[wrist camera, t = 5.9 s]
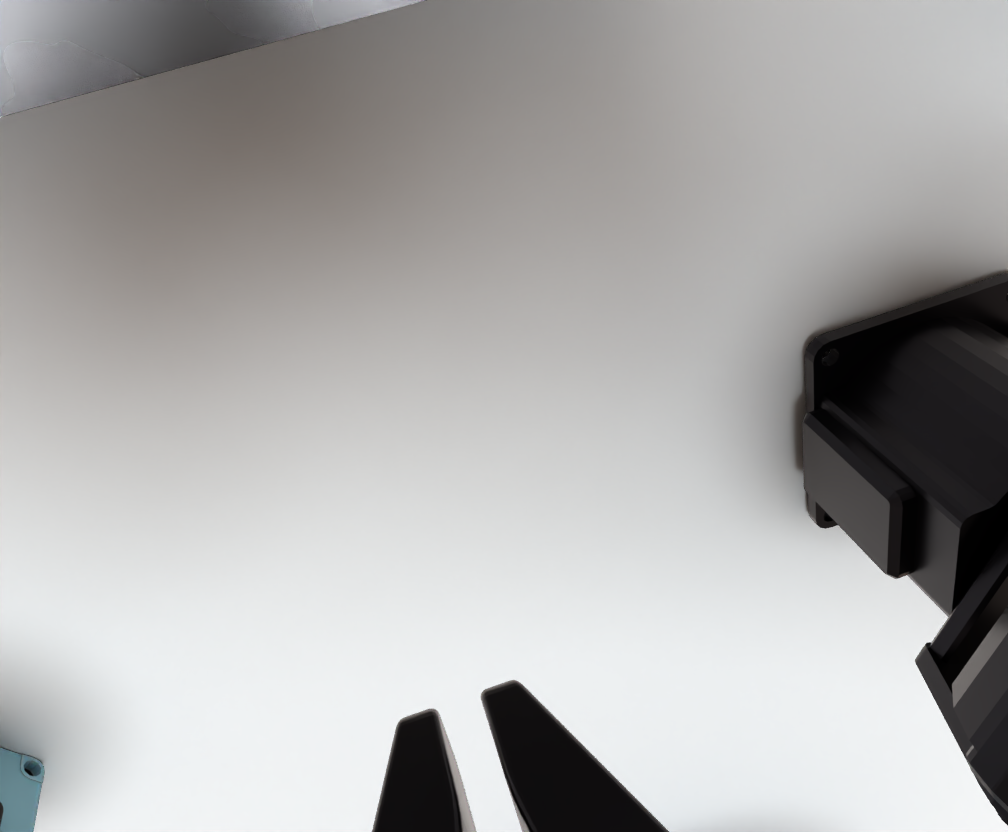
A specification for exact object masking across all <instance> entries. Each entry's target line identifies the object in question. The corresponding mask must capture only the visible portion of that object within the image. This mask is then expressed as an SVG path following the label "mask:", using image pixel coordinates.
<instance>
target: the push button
mask: <svg viewBox="0 0 1008 832" xmlns="http://www.w3.org/2000/svg"><path fill="white" fill-rule="evenodd" d="M43 778H44V766H43V765H42V763H41V762H40V761H39V760H37V759H35V758H33V757H30V756H27V755H24V754H22V755H21V754H18V753H15V752H12V751H9V750H6V749H3V748H0V832H33V831H34V825H35V820H36V814H37V808H38V803H39V797H40V792H41V786H42V783H43Z"/></svg>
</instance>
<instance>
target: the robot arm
mask: <svg viewBox="0 0 1008 832" xmlns="http://www.w3.org/2000/svg"><path fill="white" fill-rule="evenodd" d="M1007 294H1008V272H1007V273H1003V274H1000V275H997V276H994V277H991V278H988V279H985V280H982V281H980V282H977V283H974V284H971V285H968V286H965V287H962V288H959V289H956V290H953V291H950V292H947V293H944V294H941V295H938V296H935V297H932V298H929V299H926V300H923V301H920V302H917V303H914V304H911V305H908V306H905V307H902V308H899V309H896V310H893V311H891V312H888V313H885V314H882V315H879V316H876V317H873V318H870V319H867V320H864V321H861V322H858V323H855V324H852V325H849V326H846V327H843V328H840V329H837V330H834V331H831V332H828V333H825V334H822V335H820V336H818V337H816V338H815V339H814V340H813V341H812V342H811V343H810V344H809V346H808V348H807V349H806V354H805V376H806V415H805V417H804V420H803V423H802V428H803V467H804V488H805V490H806V492H807V493H808V512H809V516H810V517H811V519H812V520H813V521H814V522H815V523H816V524H817V525H818V526H819V527H820V528H830V527H833V526H836V525H839V526H840V527H841V528H842V529H843V530H844V531H845V532H846V533H847V534H848V536H849V537H850V538H851V539H852V540H853V541H854V542H855V543H856V544H857V545H858V546H859V547H860V548H861V549H862V550H863V551H864V552H865V553H866V554H867V555H868V556H869V558H870V559H871V560H872V561H873V562H874V563H875V564H876V565H877V566H878V567H879V568H880V569H881V570H882V571H883V572H884V573H885V574H887V575H889V576H891V577H893V578H895V579H897V578H900V577H903V576H906V575H908V576H909V577H910V578H911V579H912V580H913V581H914V582H915V583H916V584H917V585H918V587H919V588H920V589H921V590H922V591H923V592H924V593H925V594H926V595H927V596H928V597H929V598H930V599H931V600H932V601H933V602H934V603H935V604H936V605H937V606H938V607H939V608H940V609H941V610H942V611H943V612H944V613H945V614H946V615H947V616H948V617H949V618H948V619H947V621H946V622H945V624H944V625H943V626H942V628H941V629H940V631H939V632H938V634H937V635H936V637H935V638H934V640H933V641H932V643H930V642H929V643H926V644H925V646H924V647H923V649H922V650H921V652H920V653H919V655H918V656H917V658H916V659H915V662H916V665H917V667H918V668H919V670H920V672H921V674H922V676H923V678H924V680H925V682H926V684H927V686H928V688H929V689H930V691H931V693H932V695H933V697H934V699H935V701H936V703H937V705H938V707H939V709H940V710H941V712H942V714H943V716H944V718H945V720H946V722H947V724H948V726H949V728H950V730H951V731H952V733H953V735H954V737H955V739H956V741H957V743H958V745H959V747H960V749H961V751H962V752H963V754H964V756H965V758H966V760H967V762H968V764H969V766H970V769H971V771H972V772H973V774H974V775H975V777H976V779H977V781H978V783H979V785H980V787H981V788H982V790H983V792H984V793H985V795H986V796H987V798H988V799H989V801H990V803H991V804H992V805H993V806H994V808H995V809H996V811H997V813H998V815H999V816H1000V818H1001V819H1002V820H1003V821H1004V822H1005V823H1006V824H1007V825H1008V295H1007ZM828 350H830V353H829V354H828V355H827V356H826V357H825V358H823V359H822V357H823V355H824V354H825V352H826V351H828ZM481 700H482V704H483V707H484V710H485V713H486V717H487V720H488V723H489V726H490V730H491V733H492V736H493V739H494V742H495V746H496V749H497V752H498V755H499V759H500V762H501V765H502V768H503V772H504V775H505V778H506V781H507V784H508V788H509V791H510V794H511V797H512V800H513V803H514V806H515V810H516V813H517V816H518V819H519V822H520V825H521V829H522V832H669V831H668V830H667V829H666V828H665V827H664V826H663V825H662V824H661V823H660V822H659V821H658V820H657V819H656V818H655V817H654V816H653V815H652V814H651V813H650V812H649V811H648V810H647V809H646V808H645V807H644V806H643V805H642V804H641V803H640V802H639V801H638V800H637V799H636V798H635V797H634V796H633V795H632V794H631V793H630V792H629V791H628V790H627V789H626V788H625V787H624V786H623V785H622V784H621V783H620V782H619V781H618V780H617V779H616V778H615V777H614V776H613V775H612V774H611V773H610V772H609V771H608V770H607V769H606V768H605V767H604V766H603V765H602V764H601V763H600V762H599V761H598V760H597V759H596V758H595V757H594V756H593V755H592V754H591V753H590V752H589V751H588V750H587V749H586V748H585V747H584V746H583V745H582V744H581V743H580V742H579V741H578V740H577V739H576V738H575V737H574V736H573V735H572V734H571V733H570V732H569V731H568V730H567V729H566V728H565V727H564V726H563V725H562V724H561V723H560V722H559V721H558V720H557V719H556V718H555V717H554V716H553V715H552V714H551V713H550V712H549V711H548V710H547V709H546V708H545V707H544V706H543V705H542V704H541V703H540V702H539V701H538V700H537V699H536V698H535V697H534V696H533V695H532V694H531V693H530V692H529V691H528V690H527V689H526V688H525V687H524V686H523V685H522V684H521V683H520V682H518V681H516V680H511V681H508V682H505V683H502V684H499V685H496V686H493V687H490V688H488V689H485V690H484V691H483V692H482V694H481ZM372 832H476V828H475V825H474V821H473V818H472V814H471V811H470V807H469V804H468V800H467V797H466V793H465V789H464V786H463V782H462V779H461V775H460V772H459V769H458V765H457V762H456V759H455V756H454V753H453V751H452V748H451V745H450V742H449V740H448V737H447V734H446V731H445V728H444V726H443V723H442V720H441V717H440V715H439V713H438V711H437V710H435V709H427V710H424V711H422V712H419V713H416V714H413V715H410V716H407V717H404V718H403V719H401V720H400V721H399V722H398V725H397V727H396V730H395V735H394V739H393V743H392V748H391V752H390V756H389V761H388V765H387V769H386V774H385V778H384V782H383V787H382V791H381V795H380V800H379V804H378V808H377V812H376V817H375V821H374V825H373V830H372Z"/></svg>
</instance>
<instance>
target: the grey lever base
mask: <svg viewBox="0 0 1008 832" xmlns="http://www.w3.org/2000/svg"><path fill="white" fill-rule="evenodd" d="M422 1H426V0H0V117H2V116H6V115H10V114H13V113H17V112H21V111H24V110H28V109H32V108H35V107H39V106H42V105H46V104H50V103H53V102H57V101H61V100H64V99H68V98H72V97H75V96H79V95H83V94H86V93H90V92H94V91H97V90H101V89H104V88H108V87H112V86H115V85H119V84H123V83H126V82H130V81H134V80H137V79H141V78H145V77H148V76H152V75H156V74H159V73H163V72H167V71H170V70H174V69H177V68H181V67H185V66H188V65H192V64H196V63H199V62H203V61H207V60H210V59H214V58H218V57H221V56H225V55H229V54H232V53H236V52H239V51H243V50H247V49H250V48H254V47H258V46H261V45H265V44H269V43H272V42H276V41H280V40H283V39H287V38H291V37H294V36H298V35H302V34H305V33H309V32H312V31H316V30H320V29H323V28H327V27H331V26H334V25H338V24H342V23H345V22H349V21H353V20H356V19H360V18H364V17H367V16H371V15H374V14H378V13H382V12H385V11H389V10H393V9H396V8H400V7H404V6H407V5H411V4H415V3H418V2H422Z"/></svg>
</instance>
